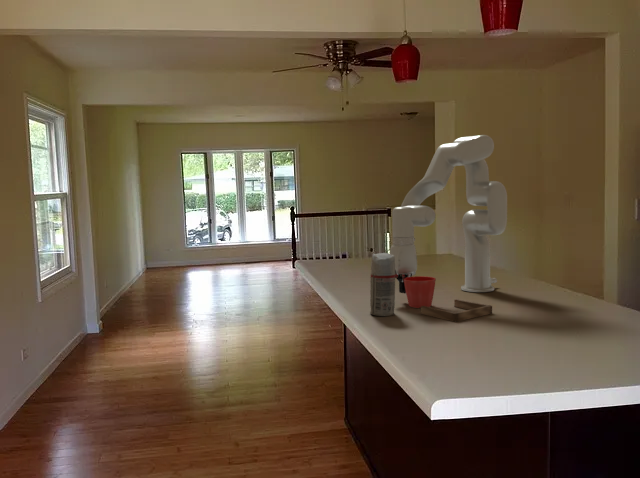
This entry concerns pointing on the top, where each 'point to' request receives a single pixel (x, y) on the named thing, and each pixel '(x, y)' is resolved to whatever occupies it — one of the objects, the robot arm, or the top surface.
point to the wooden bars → (472, 311)
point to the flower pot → (419, 290)
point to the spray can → (382, 284)
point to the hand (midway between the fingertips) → (403, 292)
